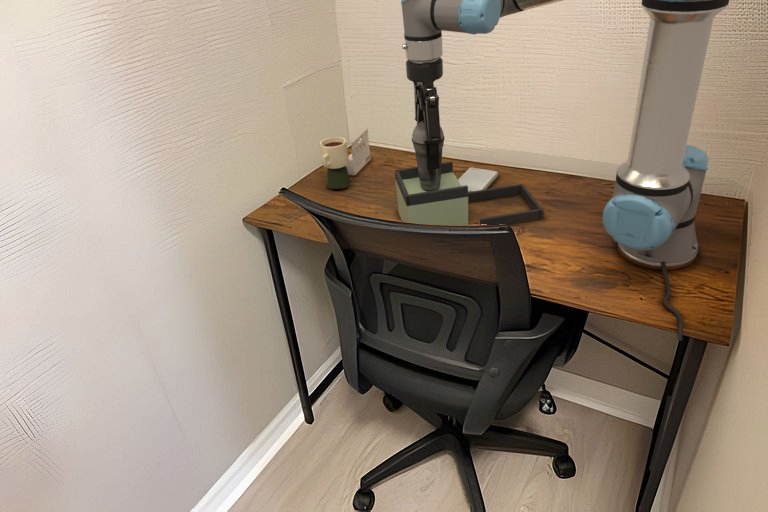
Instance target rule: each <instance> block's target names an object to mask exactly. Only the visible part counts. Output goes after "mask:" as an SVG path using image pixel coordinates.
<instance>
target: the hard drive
mask: <svg viewBox="0 0 768 512" xmlns="http://www.w3.org/2000/svg"><path fill="white" fill-rule="evenodd" d="M498 177H499V172H498V171H496V170H491V169H484V168H478V167H472V166H471V167H469V168H468V169H467V170H466V171H465V172H464V173H463V174H461V176H460V177H459V178H457V180H458V181H459V183H460V185H461V186H468V192H472V191H479V190H485V189H489V187H490V186H491V185H492V184H493V182H494V181H495V180H496V179H497V178H498Z"/></svg>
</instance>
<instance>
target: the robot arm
mask: <svg viewBox="0 0 768 512" xmlns="http://www.w3.org/2000/svg"><path fill="white" fill-rule="evenodd" d="M562 1H564V0H401V1H400V5H401V12H402V22H403V30H404V32H403V36H404V43H403V44H402V45H401V48H402V50H405V51H404V54H405V58H406V59H407V60H406V61H405V72H406V78H407V80H408V81H410V82H412V83H413V93H414V94H413V97H414V121H415V122H416V125H417V124H418V123H420V122H421V121H424V123H425V131H426V141H423V142H424V144H426V163H427V170H433V169H439V168H440V166H439V142H441V133H440V126H441V122H440V121H441V119H440V107H439V106H440V96H439V94H438V91H437V89H438V88H437V87H436V86H435V85H434V83H435V81H437V80H440V79H441V78H442V77H443V76H444V63H443V58H442V56H443V53H444V52H443V34H442V31H443V32H444V31H445V32H453V33H464V34H469V35H485V34H490V33H492V32H493V31H494V30H495V28H496V26H498V24H499V22H500V19H501V18H504V17H506V16H509V15H513V14H517V13H521V12H524V11H528V10H531V9H536V8H539V7H543V6H547V5H550V4H555V3H558V2H562ZM729 3H730V0H641V8H642V9H643V10H644V12H645V13H646V14H647V15H648V16H649V22H648V29H647V35H646V42H645V47H644V48H645V49H644V53H643V60H642V67H641V73H640V81H639V85H638V92H637V100H636V106H635V111H634V112H635V113H634V119H633V125H632V131H631V137H630V145H629V150H628V157H627V159H626V160H625V161H623V162H621V163H620V164H619V165H618V166H617V169H616V175H615V181H614V188H613V194H612V197H611V198H610V199H608V201H607V202H606V203H605V206H604V209H603V212H602V225H603V227H604V230H605V231H606V233H607V234H608V235H610V237H612V239H613V240H614V242H616V243H617V244H616V249H617V251H618V254H620V255H621V257H623V258H624V259H625V260H626V261H628V262H629V263H631V264H633V265H635V266H637V267H641V268H644V269H649V270H653V271H654V270H655V271H662V276H663V281H664V285H665V289H666V294H665V296H664V297H663V299H662V303H663V305H664V307H665V308H666V309H667V310H668V311H670V312H672V313H673V314H674V315H675V316H676V318H677V321H678V324H677V338H676V339H677V341H679V342H682V341H683V336H684V324H685V323H684V318H683V316H682V314H681V313H680V311H679V310H677V308H675V307H674V306H672V305H670V303H669V299H670V298H671V295H672V287H671V282H670V279H669V274H668V271H676V270H682V269H684V268H687V267H689V266H691V265H692V264H693V263H694V262H695V260H696V258H697V256H698V252H699V245H698V238H697V232H696V227H695V220H696V215H697V211H698V208H699V203H700V198H701V194H702V190H703V187H704V181H705V177H706V173H707V171H708V170H709V167H708V166H709V165H708V163H709V156H708V154H707V152H706V151H704V150H703V149H701V148H699V147H697V146H694V145H691V144H687V143H688V140H689V134H690V130H691V125H692V121H693V116H694V112H695V108H696V107H695V106H696V102H697V97H698V93H699V87H700V83H701V79H702V75H703V74H702V73H703V69H704V64H705V60H706V55H707V50H708V46H709V41H710V36H711V32H712V26H713V22H714V19H715V18H716V16H718V15H719V14H720V13H721V12H723V11H724V10H725V9H727V8H728V7H729ZM677 378H678V376H676V377H675V379H677ZM676 383H677V380H675V381H674V385H673V389H672V393H671V395H667V398H666V402H665V406H664V411H663V415H662V418H661V422H660V425H659V430H658V433H657V437H656V441H655V444H654V448H653V452H652V456H651V459H650V464H649V468H648V471H649V472H650V473H653V472H654V470H655V466H656V462H657V458H658V454H659V452H660V451H659V450H660V446H661V443H662V439H663V436H664V434H665V433H664V432H665V428H666V425H667V421H668V419H669V413H670V410H671V405H672V401H673V396H674V393H675V388H676Z"/></svg>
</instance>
